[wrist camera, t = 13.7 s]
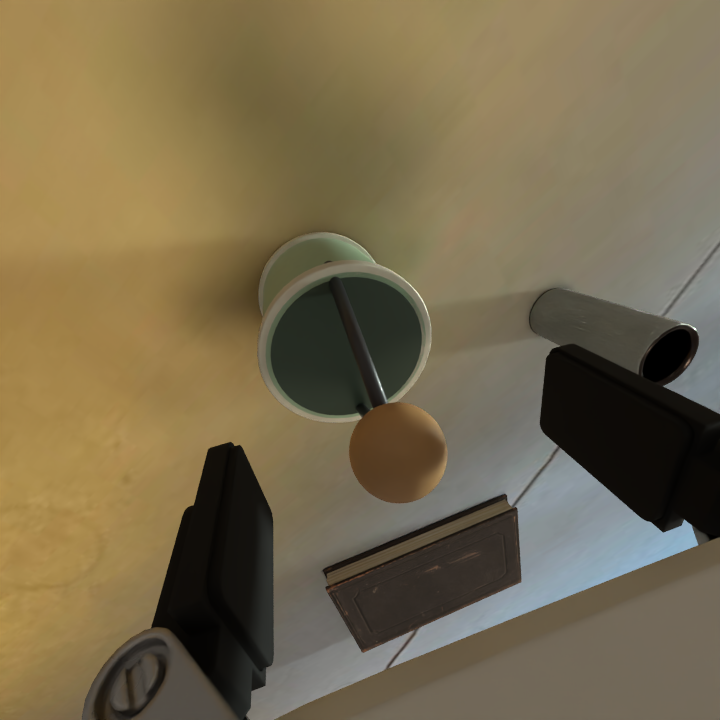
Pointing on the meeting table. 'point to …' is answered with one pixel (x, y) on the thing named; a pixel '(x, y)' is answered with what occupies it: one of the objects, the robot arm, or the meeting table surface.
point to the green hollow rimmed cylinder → (352, 358)
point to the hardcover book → (427, 573)
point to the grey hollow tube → (617, 333)
